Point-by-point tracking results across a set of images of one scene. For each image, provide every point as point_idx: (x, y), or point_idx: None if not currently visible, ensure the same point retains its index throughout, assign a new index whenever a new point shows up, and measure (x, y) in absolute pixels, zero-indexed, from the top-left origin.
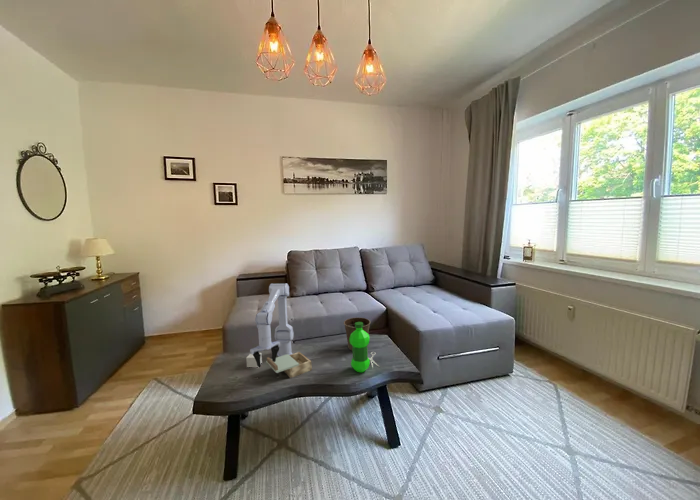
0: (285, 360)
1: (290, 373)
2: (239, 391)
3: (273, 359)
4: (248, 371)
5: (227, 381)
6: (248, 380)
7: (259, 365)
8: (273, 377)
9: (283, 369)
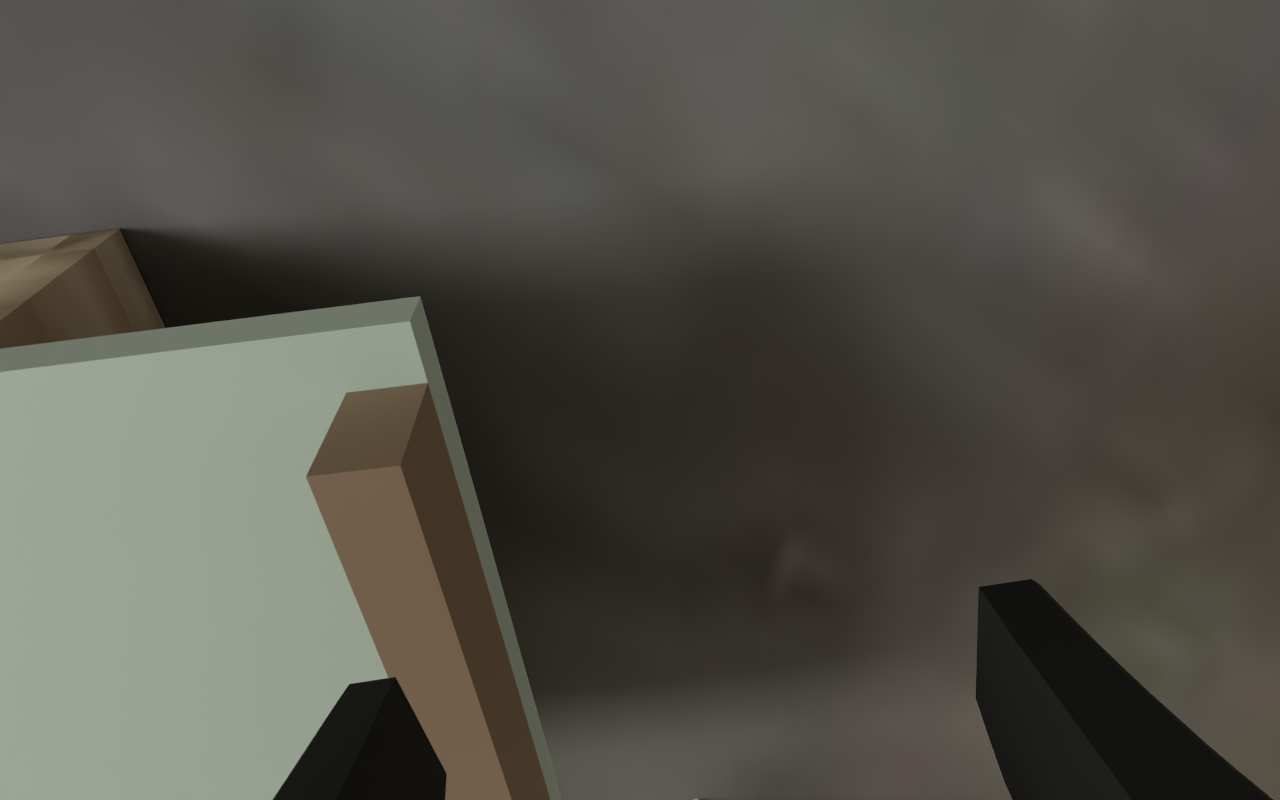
0: (100, 737)
1: (46, 278)
2: (1263, 293)
3: (394, 789)
4: (851, 777)
5: (1232, 674)
6: (955, 560)
7: (1065, 630)
8: (505, 442)
9: (160, 347)
